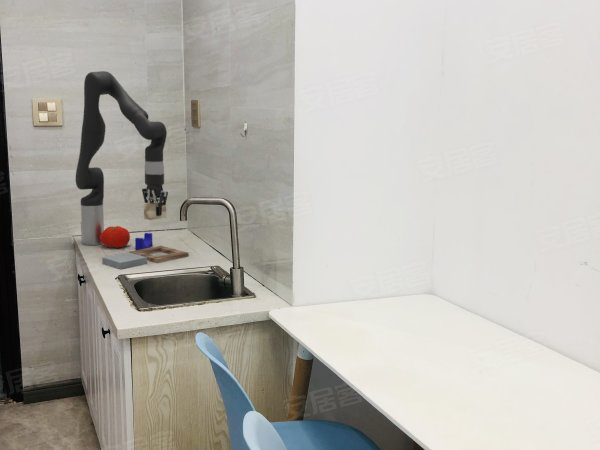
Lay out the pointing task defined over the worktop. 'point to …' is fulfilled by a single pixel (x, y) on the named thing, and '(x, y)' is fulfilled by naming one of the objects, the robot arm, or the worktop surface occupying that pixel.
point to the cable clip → (143, 242)
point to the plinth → (124, 260)
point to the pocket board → (170, 256)
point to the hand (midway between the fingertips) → (155, 214)
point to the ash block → (153, 211)
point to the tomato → (115, 237)
